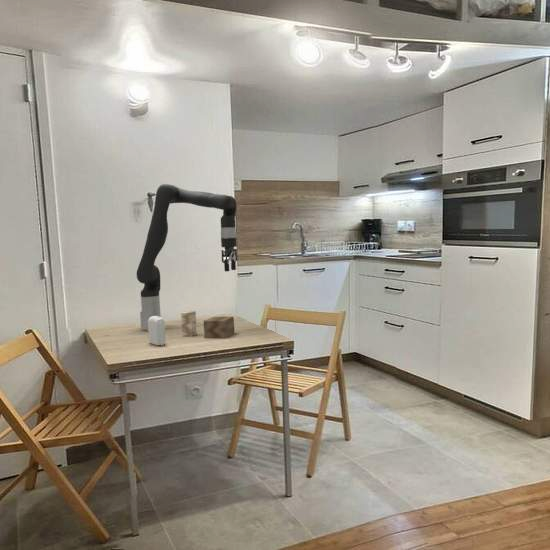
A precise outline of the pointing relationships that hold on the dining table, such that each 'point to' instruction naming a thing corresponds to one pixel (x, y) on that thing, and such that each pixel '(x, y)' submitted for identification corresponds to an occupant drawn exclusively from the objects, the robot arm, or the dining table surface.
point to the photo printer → (156, 330)
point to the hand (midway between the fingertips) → (230, 270)
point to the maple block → (188, 323)
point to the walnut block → (218, 327)
